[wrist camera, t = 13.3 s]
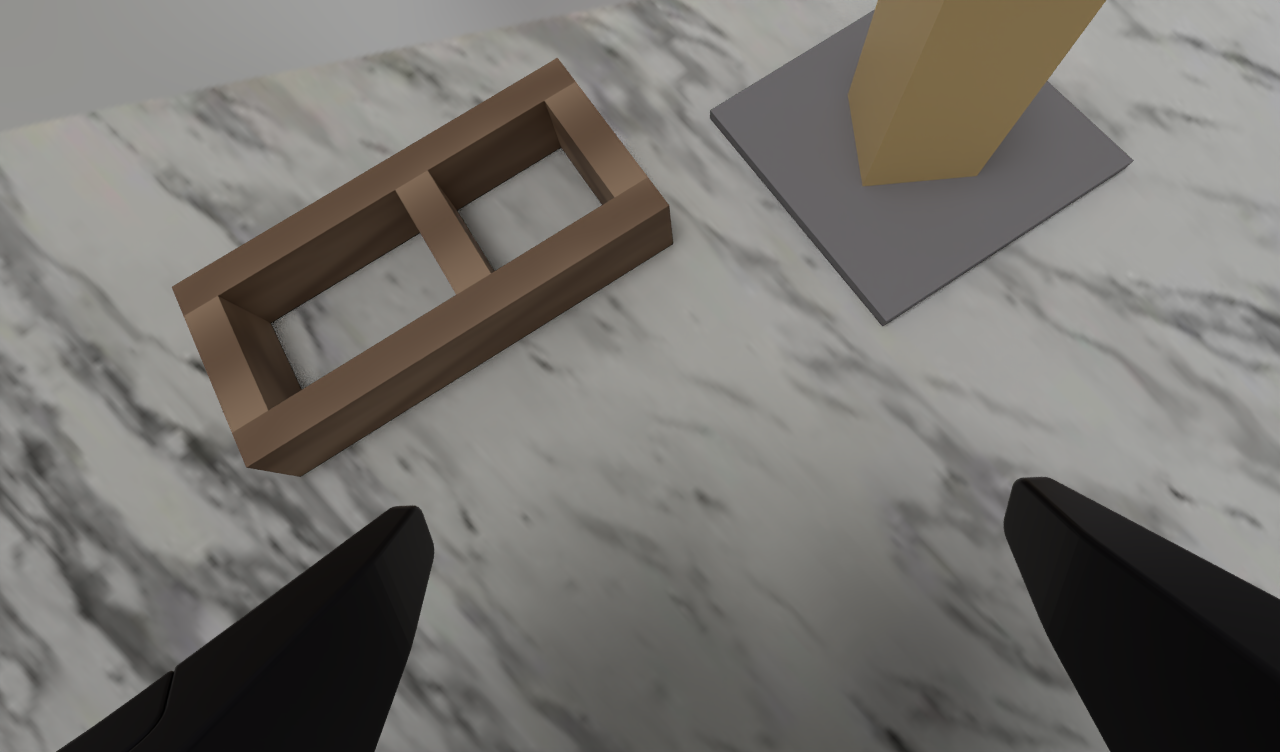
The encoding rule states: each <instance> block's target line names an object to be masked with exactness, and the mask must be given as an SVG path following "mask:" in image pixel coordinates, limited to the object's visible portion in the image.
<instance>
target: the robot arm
mask: <svg viewBox="0 0 1280 752" xmlns="http://www.w3.org/2000/svg"><path fill="white" fill-rule="evenodd" d="M1004 532H1005V536H1006V539H1007V541H1008V544H1009V546H1010V549H1011V551H1012V554H1013V556H1014V558H1015V561H1016V563H1017V566H1018V568H1019V570H1020V573H1021V575H1022V578H1023V580H1024V583H1025V585H1026V587H1027V590H1028V592H1029V595H1030V597H1031V599H1032V602H1033V604H1034V607H1035V609H1036V611H1037V614H1038V616H1039V619H1040V621H1041V623H1042V625H1043V628H1044V630H1045V632H1046V634H1047V636H1048V638H1049V640H1050V642H1051V644H1052V646H1053V648H1054V650H1055V651H1056V653H1057V655H1058V657H1059V659H1060V661H1061V662H1062V664H1063V666H1064V668H1065V670H1066V672H1067V673H1068V675H1069V677H1070V679H1071V681H1072V683H1073V684H1074V686H1075V688H1076V690H1077V692H1078V694H1079V695H1080V697H1081V699H1082V701H1083V703H1084V704H1085V706H1086V708H1087V710H1088V712H1089V714H1090V715H1091V717H1092V719H1093V721H1094V723H1095V725H1096V726H1097V728H1098V730H1099V732H1100V734H1101V736H1102V737H1103V739H1104V741H1105V743H1106V745H1107V747H1108V748H1109V750H1110V752H1280V599H1278V598H1277V597H1275V596H1273V595H1271V594H1269V593H1267V592H1265V591H1263V590H1261V589H1260V588H1258V587H1256V586H1254V585H1252V584H1250V583H1248V582H1246V581H1244V580H1243V579H1241V578H1239V577H1237V576H1235V575H1233V574H1231V573H1229V572H1227V571H1225V570H1224V569H1222V568H1220V567H1218V566H1216V565H1214V564H1212V563H1210V562H1208V561H1207V560H1205V559H1203V558H1201V557H1199V556H1197V555H1195V554H1193V553H1191V552H1190V551H1188V550H1186V549H1184V548H1182V547H1180V546H1178V545H1176V544H1174V543H1172V542H1171V541H1169V540H1167V539H1165V538H1163V537H1161V536H1159V535H1157V534H1155V533H1154V532H1152V531H1150V530H1148V529H1146V528H1144V527H1142V526H1140V525H1138V524H1137V523H1135V522H1133V521H1131V520H1129V519H1127V518H1125V517H1123V516H1121V515H1120V514H1118V513H1116V512H1114V511H1112V510H1110V509H1108V508H1106V507H1104V506H1102V505H1101V504H1099V503H1097V502H1095V501H1093V500H1091V499H1089V498H1087V497H1085V496H1084V495H1082V494H1080V493H1078V492H1076V491H1074V490H1072V489H1070V488H1068V487H1067V486H1065V485H1063V484H1061V483H1059V482H1057V481H1055V480H1053V479H1051V478H1048V477H1028V478H1020V479H1017V480H1016V481H1015V482H1014V484H1013V486H1012V490H1011V494H1010V498H1009V501H1008V505H1007V509H1006V513H1005V517H1004ZM433 559H434V544H433V540H432V538H431V535H430V532H429V529H428V526H427V524H426V521H425V518H424V515H423V513H422V511H421V509H420V508H419V507H417V506H396V507H392V508H390V509H388V510H387V511H386V512H384V513H383V514H381V515H380V516H379V517H377V518H376V519H375V520H373V521H372V522H371V523H369V524H368V525H367V526H365V527H364V528H363V529H361V530H360V531H358V532H357V533H356V534H354V535H353V536H352V537H350V538H349V539H348V540H346V541H345V542H344V543H342V544H341V545H340V546H338V547H337V548H336V549H334V550H333V551H331V552H330V553H329V554H327V555H326V556H325V557H323V558H322V559H321V560H319V561H318V562H317V563H315V564H314V565H313V566H311V567H310V568H308V569H307V570H306V571H304V572H303V573H302V574H300V575H299V576H298V577H296V578H295V579H294V580H292V581H291V582H290V583H288V584H287V585H285V586H284V587H283V588H281V589H280V590H279V591H277V592H276V593H275V594H273V595H272V596H271V597H269V598H268V599H267V600H265V601H264V602H262V603H261V604H260V605H258V606H257V607H256V608H254V609H253V610H252V611H250V612H249V613H248V614H246V615H245V616H244V617H242V618H241V619H239V620H238V621H237V622H235V623H234V624H233V625H231V626H230V627H229V628H227V629H226V630H225V631H223V632H222V633H221V634H219V635H218V636H216V637H215V638H214V639H212V640H211V641H210V642H208V643H207V644H206V645H204V646H203V647H202V648H200V649H199V650H198V651H196V652H195V653H193V654H192V655H191V656H189V657H188V658H187V659H185V660H184V661H183V662H181V663H180V664H179V665H177V666H176V667H175V670H174V671H169V672H168V673H166V674H165V675H164V676H162V677H161V678H160V679H158V680H157V681H156V682H154V683H153V684H151V685H150V686H149V687H147V688H146V689H145V690H143V691H142V692H141V693H139V694H138V695H136V696H135V697H134V698H132V699H131V700H129V701H128V702H127V703H125V704H124V705H123V706H121V707H120V708H118V709H117V710H116V711H114V712H113V713H111V714H110V715H109V716H107V717H106V718H104V719H103V720H102V721H100V722H99V723H97V724H96V725H95V726H93V727H92V728H90V729H89V730H87V731H86V732H84V733H83V734H81V735H80V736H79V737H77V738H76V739H74V740H73V741H71V742H70V743H68V744H67V745H65V746H64V747H62V748H61V749H59V750H58V751H56V752H374V751H375V749H376V746H377V743H378V740H379V738H380V735H381V732H382V729H383V727H384V724H385V721H386V718H387V715H388V713H389V710H390V707H391V704H392V702H393V699H394V696H395V693H396V690H397V688H398V685H399V682H400V679H401V677H402V674H403V671H404V668H405V666H406V663H407V660H408V657H409V654H410V651H411V647H412V644H413V640H414V637H415V633H416V629H417V625H418V621H419V616H420V612H421V608H422V604H423V600H424V596H425V592H426V588H427V584H428V580H429V575H430V571H431V567H432V563H433Z"/></svg>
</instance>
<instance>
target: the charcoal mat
mask: <svg viewBox="0 0 1280 752" xmlns="http://www.w3.org/2000/svg"><path fill="white" fill-rule="evenodd" d="M874 11H875V10H873V11H872V12H870V13H868V14H867V15H865V16H864V17H862V18H860V19H859V20H857V21H855V22H854V23H852V24H850V25H849V26H847V27H846V28H844V29H842V30H841V31H839V32H837V33H836V34H834V35H832V36H831V37H829V38H828V39H826V40H824V41H823V42H821V43H819V44H818V45H816V46H814V47H813V48H811V49H810V50H808V51H806V52H805V53H803V54H801V55H800V56H798V57H796V58H795V59H793V60H792V61H790V62H788V63H787V64H785V65H783V66H782V67H780V68H778V69H777V70H775V71H774V72H772V73H770V74H769V75H767V76H765V77H764V78H762V79H760V80H759V81H757V82H756V83H754V84H752V85H751V86H749V87H747V88H746V89H744V90H742V91H741V92H739V93H738V94H736V95H734V96H733V97H731V98H729V99H728V100H726V101H725V102H723V103H721V104H720V105H718V106H716V107H715V108H713V109H711V110H710V118H711V120H712V121H713V122H714V123H715V124H716V126H717V127H718V128H719V129H720V130H721V132H722V133H723V134H724V135H725V136H726V138H727V139H728V140H729V141H730V143H731V144H732V145H733V146H734V147H735V149H736V150H737V151H738V152H739V153H740V155H741V156H742V157H743V158H744V159H745V161H746V162H747V163H748V164H749V165H750V167H751V168H752V169H753V170H754V171H755V173H756V174H757V175H758V176H759V177H760V179H761V180H762V181H763V182H764V184H765V185H766V186H767V187H768V188H769V190H770V191H771V192H772V193H773V194H774V196H775V197H776V198H777V199H778V200H779V202H780V203H781V204H782V205H783V206H784V208H785V209H786V210H787V211H788V212H789V214H790V215H791V216H792V217H793V218H794V220H795V221H796V222H797V223H798V225H799V226H800V227H801V228H802V229H803V231H804V232H805V233H806V234H807V235H808V237H809V238H810V239H811V240H812V241H813V243H814V244H815V245H816V246H817V247H818V249H819V250H820V251H821V252H822V253H823V255H824V256H825V257H826V258H827V259H828V261H829V262H830V263H831V264H832V266H833V267H834V268H835V269H836V270H837V272H838V273H839V274H840V275H841V276H842V278H843V279H844V280H845V281H846V282H847V284H848V285H849V286H850V287H851V288H852V290H853V291H854V292H855V293H856V294H857V296H858V297H859V298H860V299H861V300H862V302H863V303H864V304H865V305H866V307H867V308H868V309H869V310H870V311H871V313H872V314H873V315H874V316H875V317H876V319H877V320H878V321H879V322H880V323H881V325H882V326H884V325H885V324H887V323H888V322H890V321H892V320H893V319H895V318H896V317H898V316H899V315H901V314H902V313H904V312H905V311H907V310H908V309H910V308H911V307H913V306H915V305H916V304H918V303H919V302H921V301H922V300H924V299H925V298H927V297H928V296H930V295H931V294H933V293H935V292H936V291H938V290H939V289H941V288H942V287H944V286H945V285H947V284H948V283H950V282H951V281H953V280H954V279H956V278H958V277H959V276H961V275H962V274H964V273H965V272H967V271H968V270H970V269H971V268H973V267H974V266H976V265H977V264H979V263H981V262H982V261H984V260H985V259H987V258H988V257H990V256H991V255H993V254H994V253H996V252H997V251H999V250H1000V249H1002V248H1004V247H1005V246H1007V245H1008V244H1010V243H1011V242H1013V241H1014V240H1016V239H1017V238H1019V237H1020V236H1022V235H1024V234H1025V233H1027V232H1028V231H1030V230H1031V229H1033V228H1034V227H1036V226H1037V225H1039V224H1040V223H1042V222H1043V221H1045V220H1047V219H1048V218H1050V217H1051V216H1053V215H1054V214H1056V213H1057V212H1059V211H1060V210H1062V209H1063V208H1065V207H1066V206H1068V205H1070V204H1071V203H1073V202H1074V201H1076V200H1077V199H1079V198H1080V197H1082V196H1083V195H1085V194H1086V193H1088V192H1089V191H1091V190H1093V189H1094V188H1096V187H1097V186H1099V185H1100V184H1102V183H1103V182H1105V181H1106V180H1108V179H1109V178H1111V177H1112V176H1114V175H1116V174H1117V173H1119V172H1120V171H1122V170H1123V169H1125V168H1126V167H1127V166H1128V165H1129V164H1131V163H1132V162H1133V161H1134V160H1133V159H1132V158H1130V157H1129V156H1128V155H1127V154H1126V153H1125V152H1124V151H1123V150H1122V149H1121V148H1120V147H1118V146H1117V145H1116V144H1115V143H1114V142H1113V141H1112V140H1111V139H1110V138H1109V137H1108V136H1107V135H1105V134H1104V133H1103V132H1102V131H1101V130H1100V129H1099V128H1098V127H1097V126H1096V125H1095V124H1093V123H1092V122H1091V121H1090V120H1089V119H1088V118H1087V117H1086V116H1085V115H1084V114H1083V113H1082V112H1080V111H1079V110H1078V109H1077V108H1076V107H1075V106H1074V105H1073V104H1072V103H1071V102H1070V101H1068V100H1067V99H1066V98H1065V97H1064V96H1063V95H1062V94H1061V93H1060V92H1059V91H1058V90H1057V89H1055V88H1054V87H1053V86H1052V85H1051V84H1050V83H1049V82H1048V81H1046V83H1045V84H1044V85H1043V87H1042V88H1041V89H1040V91H1039V92H1038V94H1037V95H1036V96H1035V98H1034V99H1033V100H1032V102H1031V103H1030V104H1029V106H1028V107H1027V108H1026V110H1025V111H1024V113H1023V114H1022V115H1021V117H1020V118H1019V119H1018V121H1017V122H1016V123H1015V125H1014V126H1013V127H1012V129H1011V130H1010V132H1009V133H1008V134H1007V136H1006V137H1005V138H1004V140H1003V141H1002V142H1001V144H1000V145H999V146H998V148H997V149H996V151H995V152H994V153H993V155H992V156H991V157H990V159H989V160H988V161H987V163H986V164H985V165H984V167H983V168H982V170H981V171H980V172H979V174H978V175H977V176H972V177H961V178H950V179H939V180H928V181H917V182H906V183H895V184H884V185H873V186H862V180H861V174H860V168H859V162H858V155H857V149H856V143H855V137H854V131H853V124H852V118H851V112H850V106H849V100H848V93H849V90H850V87H851V83H852V80H853V77H854V74H855V71H856V68H857V65H858V61H859V58H860V55H861V52H862V49H863V46H864V43H865V40H866V36H867V33H868V30H869V27H870V24H871V21H872V18H873V14H874Z"/></svg>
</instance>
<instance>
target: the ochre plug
mask: <svg viewBox="0 0 1280 752" xmlns="http://www.w3.org/2000/svg"><path fill="white" fill-rule="evenodd" d="M1105 1H1106V0H878V2H877V5H876V8H875V11H874V14H873V18H872V21H871V24H870V27H869V30H868V33H867V36H866V40H865V43H864V46H863V49H862V52H861V55H860V58H859V61H858V65H857V68H856V71H855V74H854V77H853V80H852V83H851V87H850V90H849V93H848V100H849V106H850V112H851V118H852V124H853V131H854V137H855V143H856V149H857V155H858V162H859V168H860V174H861V180H862V186H873V185H884V184H895V183H906V182H917V181H928V180H939V179H950V178H961V177H972V176H977V175H978V174H979V172H980V171H981V170H982V168H983V167H984V165H985V164H986V163H987V161H988V160H989V159H990V157H991V156H992V155H993V153H994V152H995V151H996V149H997V148H998V146H999V145H1000V144H1001V142H1002V141H1003V140H1004V138H1005V137H1006V136H1007V134H1008V133H1009V132H1010V130H1011V129H1012V127H1013V126H1014V125H1015V123H1016V122H1017V121H1018V119H1019V118H1020V117H1021V115H1022V114H1023V113H1024V111H1025V110H1026V108H1027V107H1028V106H1029V104H1030V103H1031V102H1032V100H1033V99H1034V98H1035V96H1036V95H1037V94H1038V92H1039V91H1040V89H1041V88H1042V87H1043V85H1044V84H1045V83H1046V81H1047V80H1048V79H1049V77H1050V76H1051V75H1052V73H1053V72H1054V70H1055V69H1056V68H1057V66H1058V65H1059V64H1060V62H1061V61H1062V60H1063V58H1064V57H1065V56H1066V54H1067V53H1068V51H1069V50H1070V49H1071V47H1072V46H1073V45H1074V43H1075V42H1076V41H1077V39H1078V38H1079V37H1080V35H1081V34H1082V32H1083V31H1084V30H1085V28H1086V27H1087V26H1088V24H1089V23H1090V22H1091V20H1092V19H1093V18H1094V16H1095V15H1096V13H1097V12H1098V11H1099V9H1100V8H1101V7H1102V5H1103V4H1104V3H1105Z"/></svg>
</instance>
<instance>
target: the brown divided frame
mask: <svg viewBox="0 0 1280 752" xmlns="http://www.w3.org/2000/svg"><path fill="white" fill-rule="evenodd" d="M560 147H561V148H562V149H563V151H564V152H565V153H566V155H567V156H568V158H569V159H570V160H571V162H572V163H573V165H574V166H575V167H576V169H577V170H578V172H579V173H580V174H581V176H582V177H583V179H584V180H585V181H586V183H587V184H588V186H589V187H590V188H591V190H592V191H593V193H594V194H595V195H596V197H597V198H598V200H599V201H600V202H601V204H602V206H600V207H598V208H597V209H595V210H594V211H592V212H590V213H589V214H587V215H585V216H584V217H582V218H581V219H579V220H577V221H576V222H574V223H572V224H571V225H569V226H568V227H566V228H564V229H563V230H561V231H559V232H558V233H556V234H554V235H553V236H551V237H550V238H548V239H546V240H545V241H543V242H541V243H540V244H538V245H537V246H535V247H533V248H532V249H530V250H528V251H527V252H525V253H524V254H522V255H520V256H519V257H517V258H515V259H514V260H512V261H511V262H509V263H507V264H506V265H504V266H502V267H501V268H499V269H498V270H496V271H494V270H493V268H492V266H491V265H490V263H489V261H488V260H487V258H486V257H485V255H484V253H483V252H482V250H481V249H480V247H479V245H478V244H477V242H476V240H475V239H474V237H473V236H472V234H471V232H470V231H469V229H468V227H467V226H466V224H465V223H464V221H463V219H462V218H461V216H460V215H459V213H458V211H457V210H458V209H460V208H461V207H463V206H465V205H466V204H468V203H469V202H471V201H473V200H474V199H476V198H478V197H479V196H481V195H483V194H484V193H486V192H488V191H489V190H491V189H493V188H494V187H496V186H498V185H499V184H501V183H503V182H504V181H506V180H508V179H509V178H511V177H512V176H514V175H516V174H517V173H519V172H521V171H522V170H524V169H526V168H527V167H529V166H531V165H532V164H534V163H536V162H537V161H539V160H541V159H542V158H544V157H546V156H547V155H549V154H550V153H552V152H554V151H555V150H557V149H559V148H560ZM418 233H421V235H422V237H423V238H424V240H425V242H426V243H427V245H428V247H429V249H430V250H431V252H432V254H433V255H434V257H435V259H436V261H437V262H438V264H439V266H440V267H441V269H442V271H443V272H444V274H445V276H446V278H447V279H448V281H449V283H450V284H451V286H452V288H453V290H454V291H455V293H456V295H455V296H454V297H452V298H450V299H449V300H447V301H446V302H444V303H442V304H441V305H439V306H437V307H436V308H434V309H433V310H431V311H429V312H428V313H426V314H424V315H423V316H421V317H420V318H418V319H416V320H415V321H413V322H411V323H410V324H408V325H407V326H405V327H403V328H402V329H400V330H398V331H397V332H395V333H394V334H392V335H390V336H389V337H387V338H385V339H384V340H382V341H380V342H379V343H377V344H376V345H374V346H372V347H371V348H369V349H367V350H366V351H364V352H363V353H361V354H359V355H358V356H356V357H354V358H353V359H351V360H350V361H348V362H346V363H345V364H343V365H341V366H340V367H338V368H337V369H335V370H333V371H332V372H330V373H328V374H327V375H325V376H324V377H322V378H320V379H319V380H317V381H315V382H314V383H312V384H311V385H309V386H307V387H306V388H304V389H302V390H301V388H300V385H299V383H298V381H297V379H296V377H295V375H294V373H293V370H292V368H291V366H290V364H289V362H288V360H287V357H286V355H285V353H284V351H283V349H282V347H281V344H280V342H279V340H278V338H277V336H276V334H275V332H274V329H273V327H272V325H271V322H273V321H274V320H276V319H278V318H279V317H281V316H283V315H284V314H286V313H288V312H289V311H291V310H293V309H294V308H296V307H298V306H299V305H301V304H303V303H304V302H306V301H307V300H309V299H311V298H312V297H314V296H316V295H317V294H319V293H321V292H322V291H324V290H326V289H327V288H329V287H331V286H332V285H334V284H336V283H337V282H339V281H341V280H342V279H344V278H346V277H347V276H349V275H350V274H352V273H354V272H355V271H357V270H359V269H360V268H362V267H364V266H365V265H367V264H369V263H370V262H372V261H374V260H375V259H377V258H379V257H380V256H382V255H384V254H385V253H387V252H388V251H390V250H392V249H393V248H395V247H397V246H398V245H400V244H402V243H403V242H405V241H407V240H408V239H410V238H412V237H413V236H415V235H417V234H418ZM672 244H673V238H672V228H671V219H670V209H669V205H668V203H667V202H666V201H665V199H664V198H663V197H662V195H661V194H660V193H659V191H658V190H657V189H656V187H655V186H654V185H653V183H652V182H651V181H650V179H649V178H648V177H647V175H646V174H645V173H644V171H643V170H642V169H641V168H640V166H639V165H638V164H637V162H636V161H635V160H634V158H633V157H632V156H631V154H630V153H629V152H628V150H627V149H626V148H625V146H624V145H623V144H622V142H621V141H620V140H619V138H618V137H617V136H616V134H615V133H614V132H613V130H612V129H611V128H610V127H609V125H608V124H607V123H606V121H605V120H604V119H603V117H602V116H601V115H600V113H599V112H598V111H597V109H596V108H595V107H594V105H593V104H592V103H591V101H590V100H589V99H588V97H587V96H586V95H585V93H584V92H583V91H582V89H581V88H580V87H579V86H578V84H577V83H576V82H575V80H574V79H573V78H572V76H571V75H570V74H569V72H568V71H567V70H566V68H565V67H564V66H563V64H562V63H561V62H560V60H559V59H558V58H556V59H555V60H553V61H551V62H550V63H548V64H546V65H545V66H543V67H541V68H539V69H538V70H536V71H534V72H533V73H531V74H529V75H528V76H526V77H524V78H523V79H521V80H519V81H518V82H516V83H514V84H513V85H511V86H509V87H507V88H506V89H504V90H502V91H501V92H499V93H497V94H496V95H494V96H492V97H491V98H489V99H487V100H486V101H484V102H482V103H481V104H479V105H477V106H475V107H474V108H472V109H470V110H469V111H467V112H465V113H464V114H462V115H460V116H459V117H457V118H455V119H454V120H452V121H450V122H449V123H447V124H445V125H443V126H442V127H440V128H438V129H437V130H435V131H433V132H432V133H430V134H428V135H427V136H425V137H423V138H422V139H420V140H418V141H417V142H415V143H413V144H412V145H410V146H408V147H406V148H405V149H403V150H401V151H400V152H398V153H396V154H395V155H393V156H391V157H390V158H388V159H386V160H385V161H383V162H381V163H380V164H378V165H376V166H374V167H373V168H371V169H369V170H368V171H366V172H364V173H363V174H361V175H359V176H358V177H356V178H354V179H353V180H351V181H349V182H348V183H346V184H344V185H342V186H341V187H339V188H337V189H336V190H334V191H332V192H331V193H329V194H327V195H326V196H324V197H322V198H321V199H319V200H317V201H316V202H314V203H312V204H310V205H309V206H307V207H305V208H304V209H302V210H300V211H299V212H297V213H295V214H294V215H292V216H290V217H289V218H287V219H285V220H284V221H282V222H280V223H278V224H277V225H275V226H273V227H272V228H270V229H268V230H267V231H265V232H263V233H262V234H260V235H258V236H257V237H255V238H253V239H252V240H250V241H248V242H247V243H245V244H243V245H241V246H240V247H238V248H236V249H235V250H233V251H231V252H230V253H228V254H226V255H225V256H223V257H221V258H220V259H218V260H216V261H215V262H213V263H211V264H209V265H208V266H206V267H204V268H203V269H201V270H199V271H198V272H196V273H194V274H193V275H191V276H189V277H188V278H186V279H184V280H183V281H181V282H179V283H177V284H176V285H174V286H172V289H173V291H174V294H175V296H176V299H177V301H178V304H179V306H180V308H181V311H182V313H183V316H184V318H185V320H186V323H187V325H188V328H189V330H190V333H191V335H192V337H193V340H194V342H195V345H196V347H197V349H198V352H199V354H200V357H201V359H202V362H203V364H204V366H205V369H206V371H207V374H208V376H209V378H210V381H211V383H212V386H213V388H214V391H215V393H216V395H217V398H218V400H219V403H220V405H221V407H222V410H223V412H224V415H225V417H226V420H227V422H228V424H229V427H230V429H231V432H232V434H233V436H234V439H235V441H236V444H237V446H238V449H239V451H240V453H241V456H242V458H243V461H244V463H245V465H246V468H252V469H258V470H264V471H270V472H275V473H281V474H287V475H293V476H299V477H301V476H302V475H304V474H305V473H307V472H309V471H310V470H312V469H313V468H315V467H317V466H318V465H320V464H321V463H323V462H325V461H326V460H328V459H329V458H331V457H333V456H334V455H336V454H337V453H339V452H341V451H342V450H344V449H345V448H347V447H349V446H350V445H352V444H353V443H355V442H357V441H358V440H360V439H361V438H363V437H365V436H366V435H368V434H369V433H371V432H373V431H374V430H376V429H377V428H379V427H381V426H382V425H384V424H385V423H387V422H389V421H390V420H392V419H393V418H395V417H397V416H398V415H400V414H401V413H403V412H405V411H406V410H408V409H409V408H411V407H413V406H414V405H416V404H417V403H419V402H421V401H422V400H424V399H425V398H427V397H429V396H430V395H432V394H433V393H435V392H437V391H438V390H440V389H441V388H443V387H445V386H446V385H448V384H449V383H451V382H453V381H454V380H456V379H457V378H459V377H461V376H462V375H464V374H465V373H467V372H469V371H470V370H472V369H473V368H475V367H477V366H478V365H480V364H481V363H483V362H485V361H486V360H488V359H489V358H491V357H493V356H494V355H496V354H497V353H499V352H501V351H502V350H504V349H505V348H507V347H509V346H510V345H512V344H513V343H515V342H517V341H518V340H520V339H521V338H523V337H525V336H526V335H528V334H529V333H531V332H533V331H534V330H536V329H537V328H539V327H541V326H542V325H544V324H545V323H547V322H549V321H550V320H552V319H553V318H555V317H557V316H558V315H560V314H561V313H563V312H565V311H566V310H568V309H569V308H571V307H573V306H574V305H576V304H577V303H579V302H581V301H582V300H584V299H585V298H587V297H589V296H590V295H592V294H593V293H595V292H597V291H598V290H600V289H601V288H603V287H605V286H606V285H608V284H609V283H611V282H613V281H614V280H616V279H617V278H619V277H621V276H622V275H624V274H625V273H627V272H629V271H630V270H632V269H633V268H635V267H637V266H638V265H640V264H641V263H643V262H645V261H646V260H648V259H649V258H651V257H653V256H654V255H656V254H657V253H659V252H661V251H662V250H664V249H665V248H667V247H669V246H670V245H672Z"/></svg>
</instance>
